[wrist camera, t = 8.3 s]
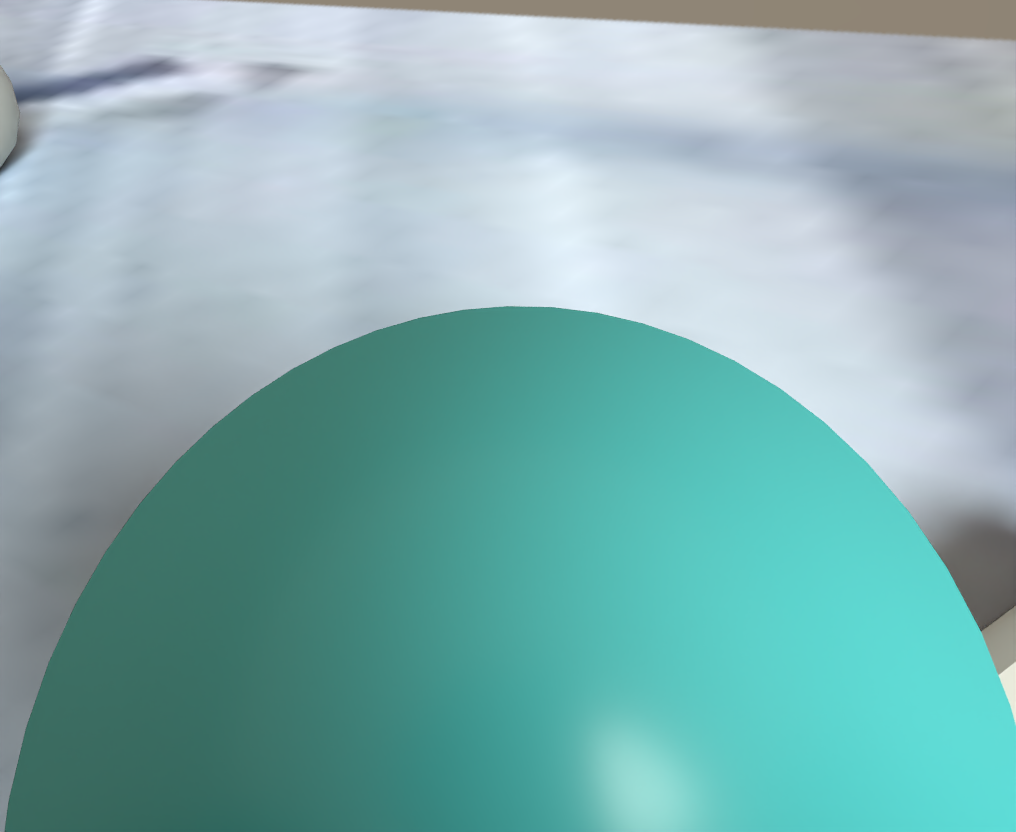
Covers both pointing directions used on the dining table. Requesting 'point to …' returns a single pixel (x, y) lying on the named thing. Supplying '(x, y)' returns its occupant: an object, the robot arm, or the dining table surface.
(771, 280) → the dining table surface
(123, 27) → the dining table surface
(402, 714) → the plug
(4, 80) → the donut
